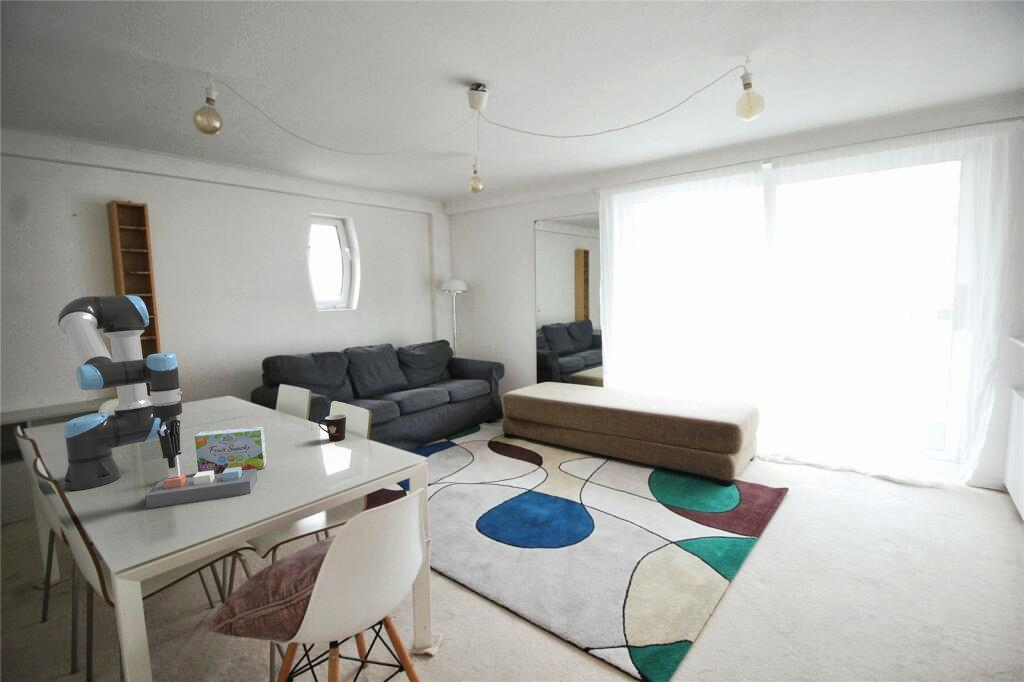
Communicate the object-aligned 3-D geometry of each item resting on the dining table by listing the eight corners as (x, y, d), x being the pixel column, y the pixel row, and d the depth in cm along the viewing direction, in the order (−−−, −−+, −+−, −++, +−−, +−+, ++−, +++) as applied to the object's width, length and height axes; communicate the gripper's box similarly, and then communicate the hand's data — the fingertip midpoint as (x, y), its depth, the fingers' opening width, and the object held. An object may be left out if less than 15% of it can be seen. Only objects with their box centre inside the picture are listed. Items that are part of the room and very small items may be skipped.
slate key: (223, 486, 155) (222, 473, 154) (226, 481, 159) (225, 468, 159) (239, 484, 156) (238, 471, 156) (242, 479, 160) (241, 466, 160)
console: (146, 508, 145) (145, 495, 145) (161, 493, 156) (160, 481, 156) (250, 493, 154) (249, 481, 154) (257, 479, 165) (256, 468, 165)
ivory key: (194, 490, 152) (193, 477, 152) (198, 485, 156) (197, 472, 156) (211, 488, 154) (210, 475, 153) (215, 483, 158) (213, 470, 157)
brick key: (164, 494, 150) (163, 481, 149) (170, 489, 154) (168, 475, 154) (182, 492, 151) (180, 478, 151) (186, 487, 155) (185, 473, 155)
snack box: (197, 477, 170) (193, 435, 168) (203, 471, 175) (199, 431, 174) (264, 469, 175) (260, 429, 174) (267, 464, 181) (264, 425, 179)
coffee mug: (351, 438, 211) (350, 415, 210) (335, 443, 204) (333, 420, 203) (334, 434, 217) (333, 412, 216) (318, 439, 210) (316, 417, 209)
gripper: (173, 406, 145) (181, 482, 147) (187, 397, 157) (194, 468, 159) (143, 408, 142) (152, 486, 145) (160, 400, 155) (167, 471, 157)
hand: (174, 476), depth 152 cm, fingers closed
